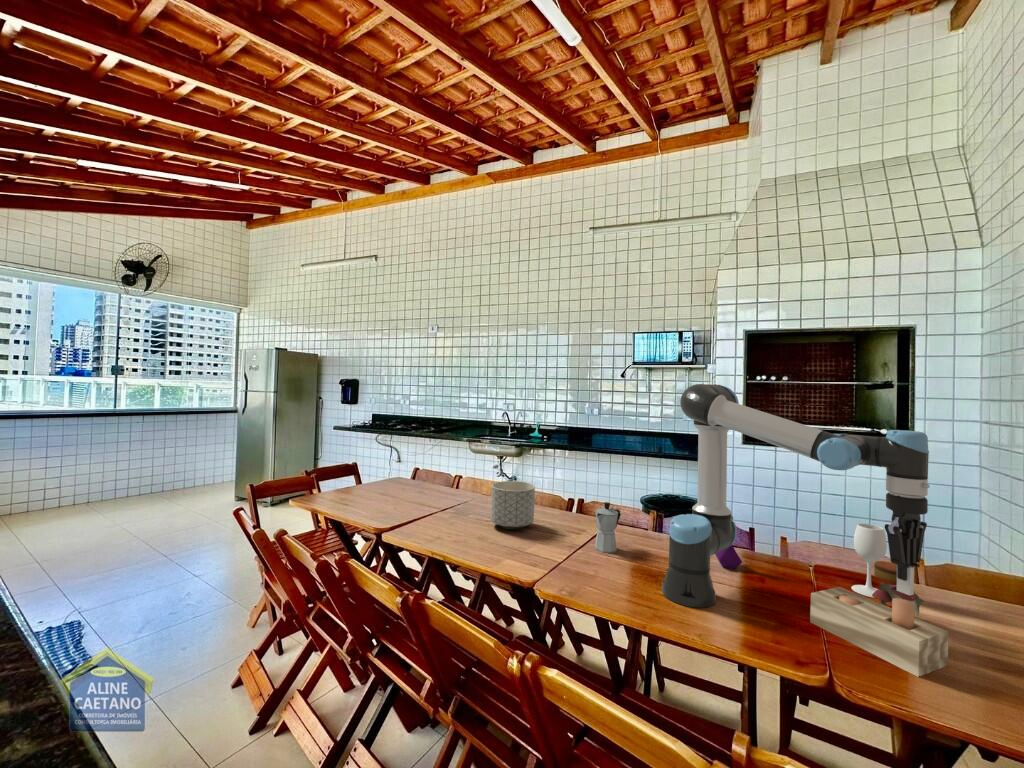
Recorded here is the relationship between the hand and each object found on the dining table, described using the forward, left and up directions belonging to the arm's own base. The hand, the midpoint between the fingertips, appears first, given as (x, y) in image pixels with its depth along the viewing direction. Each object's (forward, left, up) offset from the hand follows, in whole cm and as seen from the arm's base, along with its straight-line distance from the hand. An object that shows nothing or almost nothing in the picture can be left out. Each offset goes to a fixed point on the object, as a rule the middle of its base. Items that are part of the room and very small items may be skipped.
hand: (905, 592), depth 106 cm
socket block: (0, +6, -15) cm, 17 cm away
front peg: (0, 0, -10) cm, 10 cm away
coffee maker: (-28, +82, -16) cm, 88 cm away
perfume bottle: (+4, +54, -16) cm, 57 cm away
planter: (-54, +117, -16) cm, 130 cm away
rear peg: (0, +12, -15) cm, 20 cm away
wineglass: (+31, +24, -16) cm, 42 cm away
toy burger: (+18, +11, -16) cm, 26 cm away
